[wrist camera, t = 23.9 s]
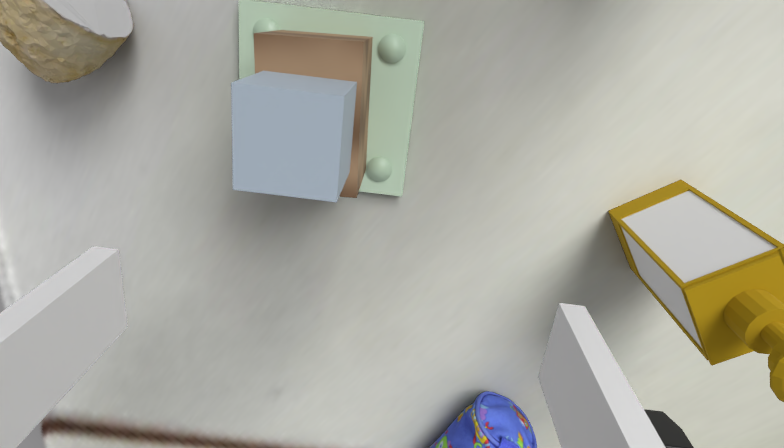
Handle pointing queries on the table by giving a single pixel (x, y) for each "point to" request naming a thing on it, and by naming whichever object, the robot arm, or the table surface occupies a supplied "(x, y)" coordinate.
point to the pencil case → (489, 426)
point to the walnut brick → (325, 76)
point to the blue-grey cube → (292, 134)
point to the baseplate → (387, 85)
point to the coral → (64, 34)
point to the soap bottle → (708, 273)
